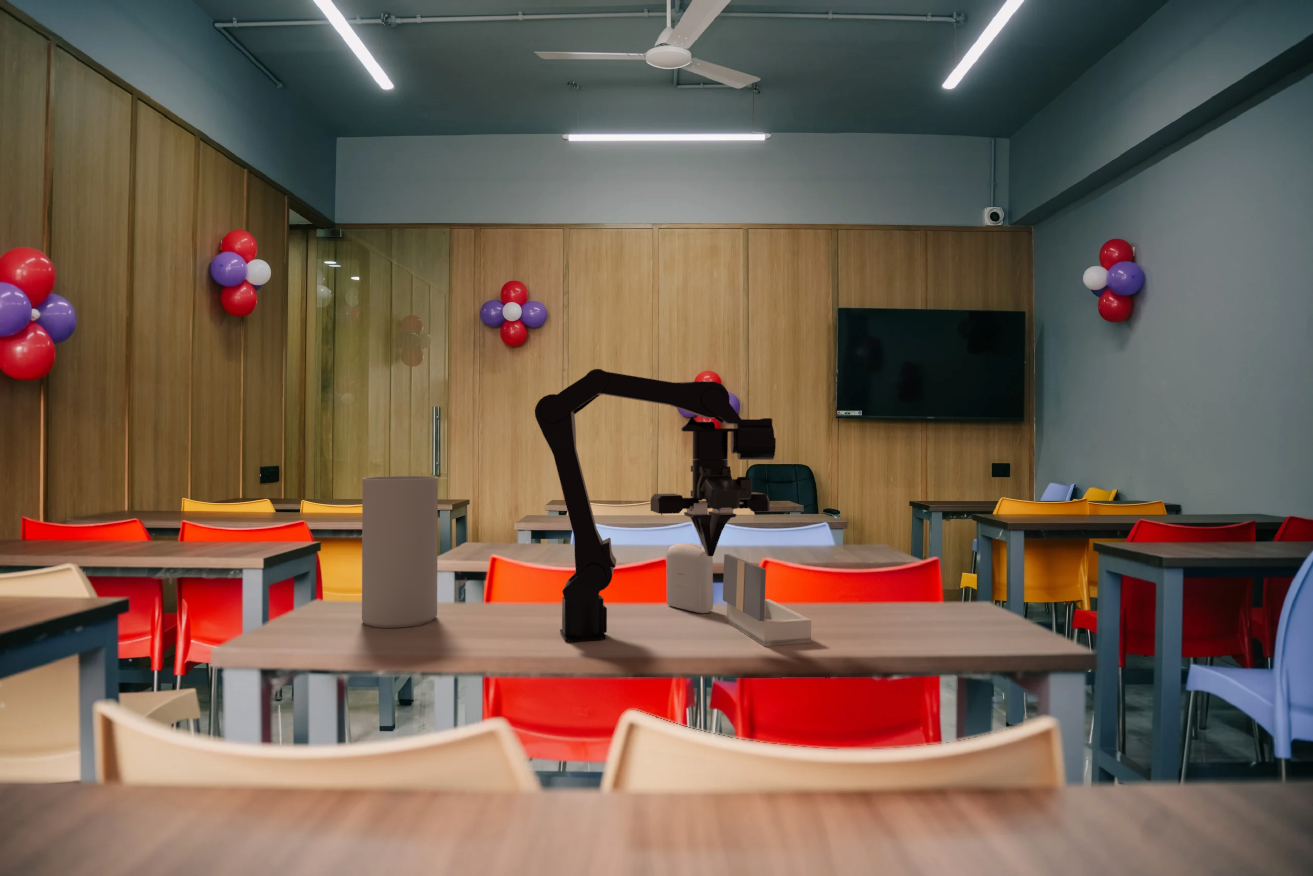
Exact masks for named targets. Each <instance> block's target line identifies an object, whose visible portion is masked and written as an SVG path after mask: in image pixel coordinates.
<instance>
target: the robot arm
mask: <svg viewBox="0 0 1313 876" xmlns="http://www.w3.org/2000/svg"><path fill="white" fill-rule="evenodd" d="M603 395H605V396H610V397H617V398H623V399H628V400H634V401H635V400H636V401H639V402H647V403H654V404H659V405H660V404H661V405H665V406H670V407H672V408H673V407H674V408H676V409H679V410H681V411H684V412H686V413H688V414H689V413H690V414H693V415H695V416H698V417H700V418H703V419H715V421H718V422H719V423H720V424H722V425H733V428H731V427H730V428H729V427H727V428H722V427H721V428H719V427H716V424H715V422H714V421H697V420H696V419H695V418H694V417H693V416H691V417H689V419H688V420H687V422H686V423H685V424H684V425H683V426H682V427H681V428H680V431H681V432H683V433H685V432H687V433H688V432H690V433H691V432H692V465H690V472H692V489H691V490H690V497H683V495H681V494H678V493H654V494H653V495H652V496H651V499H650V511H651V512H653V513H656V514H662V515H663V514H664V515H665V514H666V515H671V514H673V515H674V514H680V513H681V511H683V510H686V511H685V512H683V514H684V516H685V517H688V518H690V519H691V522H692V523H693V525H694V527H695V528H696V531H697V534H698V535H699V536H698V537H699V539H700V542H701V544H702V547H704V550H705V552H706V555H707V556H712V557H713V556H714V555H715V552H716V548H717V546H718V543H719V540H720V539H721V535H722V532H723V530H724V528H725V526H726V524H727V523H728V522H729V520H731V518H736V517H737V513H734V510H737V509H741V510H742V509H749V510H750V511H751V512H752V513H753V512H754V513H756V512H770V505H771V502H770V498H769V497H768V495H767V494H766V493H761V492H756V491H753V486H752V484H753V482H752V479H751V478H750V477H749V476H738V477H737V478H733V477H732V469H731V466H729V464H728V463H729V460H728V459H729V452H728V451H729V448H728V446H729V441H728V440H729V439H728V438H729V434H728V433H730V453H731V454H734V455H735V454H736V456H737V459H738V461H739V460H740V461H743V460H745V461H751V460H752V461H756V460H757V461H759V460H760V461H766V460H767V461H768V460H769V461H773V460H774V458H775V455H776V447H777V446H776V445H777V444H776V443H777V442H776V439H777V438H776V437H775V431H774V427H773V419H772V418H770V417H763V418H760V419H759V418H757V419H756V418H755V419H753V418H751V419H749V418H748V419H746V418H745V419H742V418H741V416H740V415H739V412H737V411H736V410H735V408H734V407H733V406H732V405H731V403H730V394H729V391H728V389H727V388H726V386H725V385H724V384H723V383H722V384H721V383H720V382H718V381H684V382H683V381H681V382H679V381H678V382H671V381H667V380H659V379H653V378H649V377H641V376H634V375H628V374H624V373H617V372H616V373H615V372H610V371H606V370H604V369H601V368H594V369H592V370H589V371H588V373H586V375H584V376H583V377H581V378H580V379H578V380H576V381H575V382H574V383H572V384H571V385H569V386H568V387H567V386H566V388H564V389H563V390H561V391H560V392H558V393H556V394H555V393H552V394H547V395H544V396H543V397H541V398H540V399H539V400H538V402H537V404H536V405H535V409H534V416H535V419H536V421H537V424H538V427H539V428H540V431H541V433H542V435H543V437H544V439H545V441H546V442H547V445H548V447H549V450H550V451H551V453H552V455H553V458H554V459H553V460H554V462H555V466H556V472H557V474H558V479H559V483H560V487H561V490H562V494H563V495H562V496H563V497H564V502H565V505H566V510H567V513H568V517H569V518H568V519H569V522H570V526H571V528H572V534H573V541H574V545H573V546H574V564H575V573H574V574H573V575H571V577H569V578H568V579H567V581H566V583H565V585H564V587H563V589H562V595H563V596H562V598H561V599H562V600H561V601H562V603H561V609H562V610H561V622H562V623H561V628H560V629H559V633H560V635H561V636H562V638H563V640H564V641H565V642H580V641H595V640H597V641H598V640H605V639H607V635H606V633H607V631H608V628H607V627H608V612H607V611H608V607H606V606H605V605H604V597H603V596H602V595H600V592H602V591H604V590H605V589H606V588H608V587H609V585H610V584H611V583H612V580H613V574H614V568H616V565H617V559H616V557H615V556H614V554H613V551H612V541H611V537H608V538H606V539H604V540H603V539H602V536H601V534H600V533H599V531H598V528H597V525H596V520H595V517H594V514H593V509H592V505H591V502H590V497H589V492H588V489H587V485H586V481H585V478H584V473H583V469H582V465H581V462H580V458H579V453H578V450H577V432H576V431H577V430H576V429H577V428H576V414H577V413H579V412H580V411H582V410H583V409H584V408H586V406H589V404H590V403H592V402H593V401H595V400H596V399H597V398H598V397H600V396H603ZM752 491H753V492H752ZM708 509H712V511H709V510H708Z"/></svg>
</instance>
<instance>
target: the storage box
mask: <svg viewBox="0 0 1313 876" xmlns="http://www.w3.org/2000/svg"><path fill="white" fill-rule="evenodd" d="M726 623H727V624H729V625H730V626H732V627H734V628H735V629H736V630H738V631H740V632H741V633H743V634H744V635H746V636H747V637H749V638H750V639H752V640H753V641H755V642H756V643H758V644H760V645H762V646H763V647H773V646H786V645H796V644H797V645H798V644H799V645H800V644H811V643H812V619H810V618H809V617H806V616H804V615H802V614H800V613H798V612H797V611H794V610H792V609H790V608H788V607H786V606H784V605H782V604H779V603H778V602H776V601H774V600H772V599H768V598H767V599H766V598H765V612H764V621H758V620H756V619H755V618H753V617H751V616H750V615H748V614H746V613H744V612H742V611H740V610H738V609H737V608H736V607H734V606H732V605H730V604H729V603H727V602H726Z"/></svg>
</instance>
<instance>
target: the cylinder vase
mask: <svg viewBox="0 0 1313 876" xmlns="http://www.w3.org/2000/svg"><path fill="white" fill-rule="evenodd" d="M438 486H439V477H437V476H428V475H427V476H425V475H424V476H423V475H422V476H420V475H398V476H397V475H396V476H395V475H393V476H388V475H387V476H371V477H362V492H361V493H362V496H361V497H362V503H361V504H362V506H361V508H362V510H361V512H362V514H361V515H362V517H361V519H362V521H361V522H362V524H361V526H362V527H361V531H362V533H361V534H362V535H361V536H362V537H361V539H362V540H361V541H362V542H361V545H362V546H361V547H362V548H361V551H362V552H361V555H362V556H361V571H362V573H361V620H362V622H363V623H364V624H365V625H367V626H369V627H373V628H381V629H382V628H383V629H396V628H397V629H399V628H409V627H410V628H411V627H414V626H415V627H416V626H420V625H424V624H427V623H430V622H431V621H433V620H435V619H436V617H437V615H438V541H439V540H438V538H439V537H438V535H439V533H438V529H439V528H438V519H439V517H438V513H439V511H438V507H439V506H438V505H439V503H438V502H439V501H438V500H439V497H438V495H439V493H438V489H439V487H438Z"/></svg>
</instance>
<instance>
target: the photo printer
mask: <svg viewBox="0 0 1313 876" xmlns="http://www.w3.org/2000/svg"><path fill="white" fill-rule="evenodd" d="M713 559H714V558H713V556H707V555H706V552H705V550H704V547H703V545H699V544H697V543H693V542H682V543H675V544H673V545H671V546H669V548H668V550H667V552H666V566H665V567H666V605H667V606H669V607H674V608H678V609H682V610H685V611H690V612H694V613H697V614H708V613H711V612H712V611H713V608H714V590H713V589H714V576H713V575H714V574H713V573H714V570H713V568H714V567H713V565H714V564H713V562H714V560H713Z"/></svg>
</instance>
